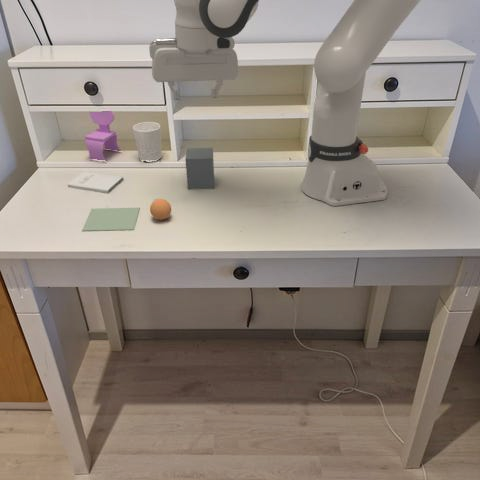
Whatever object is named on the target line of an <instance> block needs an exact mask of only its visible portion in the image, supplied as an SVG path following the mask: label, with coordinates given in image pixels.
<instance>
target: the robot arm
mask: <svg viewBox="0 0 480 480" xmlns="http://www.w3.org/2000/svg"><path fill="white" fill-rule="evenodd" d="M259 1H260V0H174V1H173V3H174V6H175V12H176V14H175V19H174V36H175V37H172V38H156V39H155V40H153V41H152V42H151V43H150V44H149V56H150V58H151V59H152V61H151V75H152V76H151V77H152V78H153V80H154V81H155V82H156V83H167V85H168V87H169V89H170V91H171V92H172V99H173V100H174V101H180V100H181V97H180V96H181V92H180V91H179V90H175V88H174V87H175V83H176V82H202V81H215V82H216V85H215V87H214V88H211V89H210V92H211V93H210V97H211V99H218V98H219V92H220V90H221V89H222V87H223V85H224V81H229V80H230V81H231V80H235V79H236V78H238V76H239V61H238V55H237V52H236V51H235V49H234V47H235V39H234V38H233V37H235V36H238V34H240V33H241V32H242V31H243V30H244V28H245V27H246V25H247V23H248V22H249V21H250V20H251V18H252V17H254V14H256V11H257V10H258V6H259ZM420 2H421V0H353V1H352V2H351V4H350V6H349V7H348V8H347V9H346V11H345V12H344V14H343V15H342V17H341V19H339V21H338V23H337V24H336V25H335V27H334V28H333V29H332V30H331V32H330V34H328V35H327V37H326V39H325V40H324V42H322V44H321V46H320V48H319V49H318V51H317V52H316V55H315V58H314V63H313V64H314V66H313V68H314V69H313V70H314V74H315V75H314V76H315V78H316V80H317V87H316V93H315V99H314V103H313V113H312V114H313V115H312V123H311V124H312V125H311V135H310V136H309V139H308V144H307V145H308V146H307V159H308V161H307V164H306V165H307V167H306V169H305V174H304V177H303V178H302V179H303V180H302V182H301V185H300V189H301V191H302V192H303V193H304V194H306V195H307V196H308V197H310V198H313V199H315V200H319V201H320V202H321V201H322V202H323V203H325V204H327V205H330V206H333V207H338V206H344V205H345V206H346V205H353V204H354V205H355V204H361V203H369V202H375V201H376V202H377V201H383V200H386V199H387V198H388V187H387V185H386V183H385V182H384V181H383V179H381V173H380V169H379V167H378V166H377V164H376V163H375V162H374V161H373V160H372V159H371V158H369V157H368V156H366V154H367V153H368V152H369V148H368V146H367V144H365V143H364V142H363V140H361V139H359V138H360V137H358V136H357V133H358V127H359V122H360V121H359V118H360V115H361V114H360V113H361V106H362V99H363V93H364V87H365V80H366V74H367V71H368V70H369V69H370V67H371V66H372V64H373V63H374V62H375V60H376V59H377V58H378V56H379V55H380V54H381V52H382V51H383V49H384V48H385V46H387V44H388V43H389V41H390V40H391V38H392V37H393V36H394V34H395V33H396V32H397V30H398V29H399V28H400V26H401V25H402V24H403V23H404V21H406V19H407V18H408V16H409V15H410V14H411V12H412V11H413V10H414V9H415V8H416V6H417V5H418V4H419V3H420Z"/></svg>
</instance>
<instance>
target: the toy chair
mask: <svg viewBox="0 0 480 480" xmlns="http://www.w3.org/2000/svg"><path fill="white" fill-rule="evenodd" d="M89 116H90V119H91V120H92V122H93V123H94V124H96V125H98V127H99V128H97V129H95V130H94V131H93V132H90V133H89V134H87V135H85V137H84V138H85V145H86V147H87V149H88V150H87V151H88V153H89V159H97V160H105V161H106V160H107V159H106V158H105V155H104V154H103V153H104V152H103V150H104V148H105V149H111V150H117V151H122V150H121V149H120V147H119V146H118V142H117V141H118V139H117V138H118V135H117V132H116V131H115V130H114V131H113V130H110V129H111V128H110V125H111V124H112V123H113V122H114V120H115V114H114V112H113V111H112V110H111V111H102V112H90V111H89Z"/></svg>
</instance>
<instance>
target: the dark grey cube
mask: <svg viewBox="0 0 480 480" xmlns="http://www.w3.org/2000/svg"><path fill="white" fill-rule="evenodd" d="M214 162H215V161H214V147H187V148H186V152H185V169H186V171H185V172H186V183H187V190H203V189H204V190H205V189H206V190H208V189H209V190H210V189H215V165H214Z"/></svg>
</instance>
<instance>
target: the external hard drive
mask: <svg viewBox="0 0 480 480" xmlns="http://www.w3.org/2000/svg"><path fill="white" fill-rule="evenodd" d="M123 181H124V177H123V176H115V175H109V174H102V173H96V172H95V173H94V172H87V171H83V172H81V173H80V174H79V175H77V176H75V178H74V179H72V180H71V181H70V182H68V183H67V187H68V188H71V189H77V190H83V191H90V192H95V193H101V194H102V193H103V194H108V195H109V194H110V193H111V192H112V191H113V190H114V189H115V188H116V187H118V186H119V185H120V184H121V183H122V182H123Z"/></svg>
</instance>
